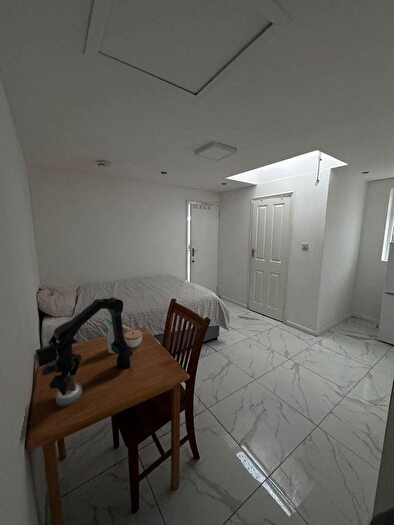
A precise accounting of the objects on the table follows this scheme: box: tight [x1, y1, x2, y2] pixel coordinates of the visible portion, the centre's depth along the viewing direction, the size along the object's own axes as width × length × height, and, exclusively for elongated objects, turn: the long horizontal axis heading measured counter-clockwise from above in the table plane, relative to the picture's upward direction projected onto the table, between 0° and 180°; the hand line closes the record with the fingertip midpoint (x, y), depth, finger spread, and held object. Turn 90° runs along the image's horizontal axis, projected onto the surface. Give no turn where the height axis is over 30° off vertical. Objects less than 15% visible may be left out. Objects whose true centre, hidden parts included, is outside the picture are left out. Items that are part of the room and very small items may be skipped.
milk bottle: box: [106, 318, 115, 354], centre depth 129 cm, size 8×8×20 cm
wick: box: [67, 374, 77, 391], centre depth 93 cm, size 4×1×7 cm, turn 101°
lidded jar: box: [124, 329, 143, 349], centre depth 136 cm, size 11×11×9 cm
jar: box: [55, 382, 83, 407], centre depth 94 cm, size 10×10×4 cm
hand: (68, 387), depth 93 cm, fingers open, 9 cm apart
